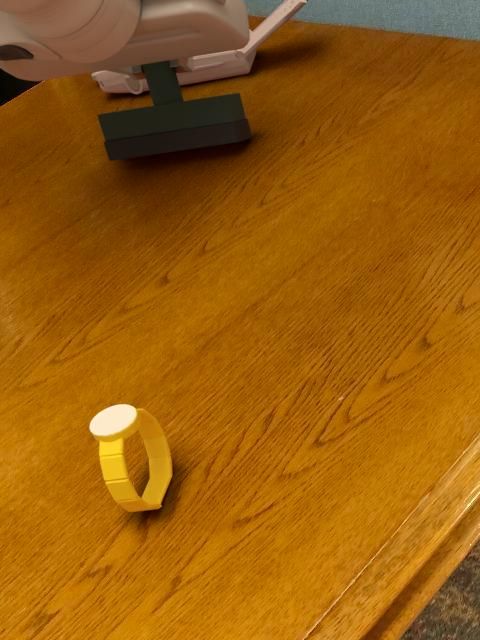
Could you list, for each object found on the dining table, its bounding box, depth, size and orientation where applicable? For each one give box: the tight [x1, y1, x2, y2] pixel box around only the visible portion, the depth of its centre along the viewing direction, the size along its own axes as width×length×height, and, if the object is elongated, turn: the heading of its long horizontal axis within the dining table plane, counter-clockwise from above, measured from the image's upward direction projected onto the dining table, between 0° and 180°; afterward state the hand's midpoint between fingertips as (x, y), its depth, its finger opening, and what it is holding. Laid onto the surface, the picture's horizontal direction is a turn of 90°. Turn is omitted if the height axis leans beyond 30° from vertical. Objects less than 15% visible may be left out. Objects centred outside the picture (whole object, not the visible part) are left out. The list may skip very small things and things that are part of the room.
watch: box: [89, 403, 173, 513], centre depth 59 cm, size 6×3×6 cm, turn 0°
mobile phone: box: [91, 0, 309, 95], centre depth 100 cm, size 6×6×25 cm
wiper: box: [96, 60, 253, 162], centre depth 87 cm, size 12×4×12 cm, turn 89°
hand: (164, 67), depth 88 cm, fingers closed on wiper, 2 cm apart
